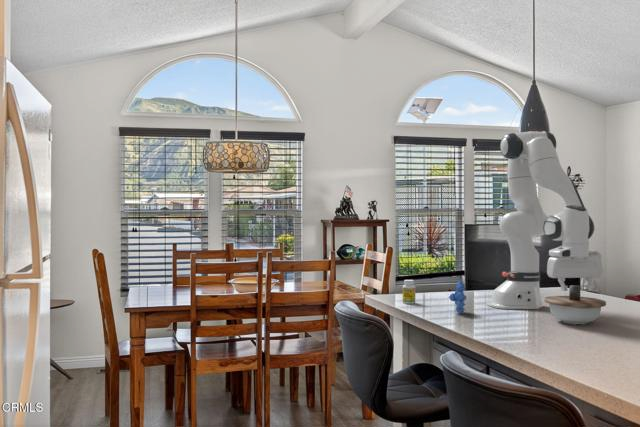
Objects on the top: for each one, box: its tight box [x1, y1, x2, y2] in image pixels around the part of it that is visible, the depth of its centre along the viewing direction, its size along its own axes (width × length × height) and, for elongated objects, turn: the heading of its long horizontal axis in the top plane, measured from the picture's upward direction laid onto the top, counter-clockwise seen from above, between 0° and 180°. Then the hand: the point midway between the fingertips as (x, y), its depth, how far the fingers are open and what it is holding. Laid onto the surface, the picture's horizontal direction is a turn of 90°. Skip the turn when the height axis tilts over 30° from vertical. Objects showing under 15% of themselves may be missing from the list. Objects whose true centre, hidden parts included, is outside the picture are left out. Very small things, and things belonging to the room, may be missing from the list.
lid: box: [544, 284, 607, 308], centre depth 212 cm, size 20×20×6 cm
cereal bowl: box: [548, 303, 602, 326], centre depth 212 cm, size 17×17×7 cm
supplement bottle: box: [402, 279, 416, 305], centre depth 253 cm, size 5×5×10 cm
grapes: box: [448, 281, 467, 315], centre depth 230 cm, size 12×7×12 cm, turn 169°
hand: (574, 290), depth 212 cm, fingers open, 7 cm apart
